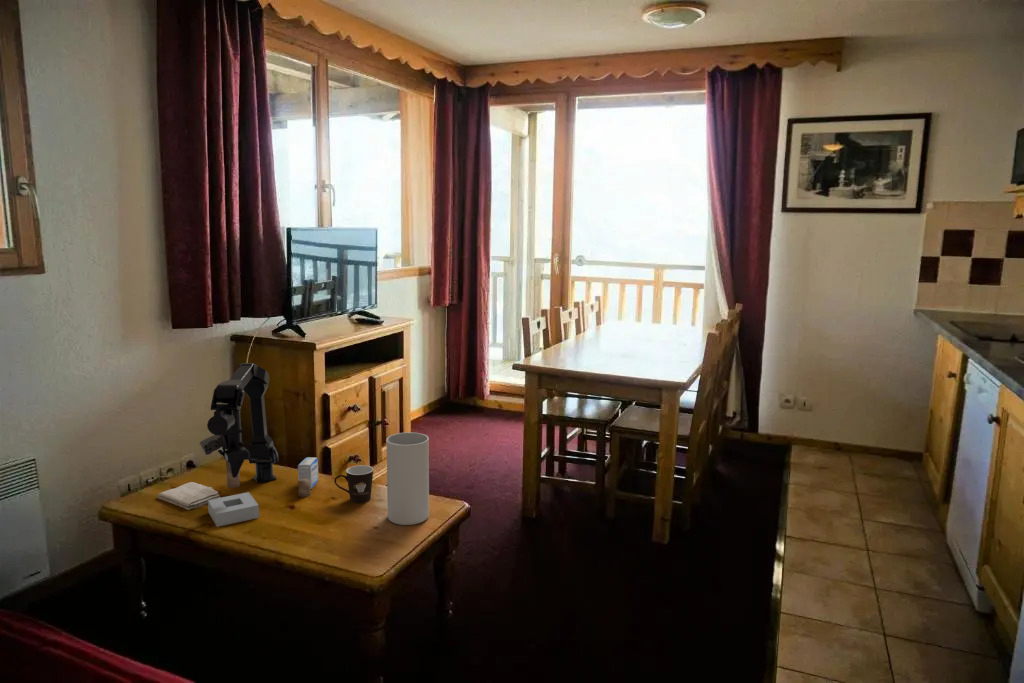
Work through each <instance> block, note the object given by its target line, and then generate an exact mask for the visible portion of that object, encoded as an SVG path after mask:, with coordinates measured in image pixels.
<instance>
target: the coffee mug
mask: <svg viewBox="0 0 1024 683" xmlns="http://www.w3.org/2000/svg"><path fill="white" fill-rule="evenodd" d="M345 473H346V475H345V474H338V475H337V476H336V477H335V478H334V485H335V486H336V487H338V489H341V490H343V491H344V492H346V493H348V494H349V499H350V502H351V503H354V504H365V503H368V502H370V501H371V498H372V497H371V496H372V488H373V487H372V486H373V477H374V476H373V475H374V468H373V467H372V466H370V465H363V464H362V465H361V464H360V465H354V466H350V467H348V468H347V469H346V471H345ZM339 478H344V479H345V481H346V482H347V485H348V486H347V487H348V489H347V488H345V487H342V486H340V485H339V484H338V483H337V480H338V479H339Z"/></svg>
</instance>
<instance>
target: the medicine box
mask: <svg viewBox="0 0 1024 683" xmlns="http://www.w3.org/2000/svg"><path fill="white" fill-rule="evenodd" d="M297 472H298V475H297V477H298V481H299V480H301V479H309V480H310V490H312V489H313V488H314V486H316V484H317V483H318V482H319V459H318V457H315V456H314V457H310V456H308V457H305V458H304V459H303V460H302V461H301V462H300V463H299V464H298V465H297Z"/></svg>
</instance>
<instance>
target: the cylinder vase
mask: <svg viewBox="0 0 1024 683" xmlns="http://www.w3.org/2000/svg"><path fill="white" fill-rule="evenodd" d="M429 440H430V439H429V436H428V435H426V434H424V433H420V432H399V433H394V434H391V435H388V437H387V438H386V486H387V487H386V490H387V491H386V492H387V493H386V494H387V496H386V498H387V500H386V502H387V509H386V510H387V519H388V520H389V522H391V523H393V524H396V525H398V526H411V525H412V526H413V525H417V524H421V523H423V522H425V521H426V520H427V519H428V518H429V516H430V479H429V478H430V470H429V469H430V462H429V460H430V457H429V456H430V455H429V454H430V453H429V450H430V447H429V446H430V445H429V444H430V443H429Z"/></svg>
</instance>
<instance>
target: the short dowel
mask: <svg viewBox="0 0 1024 683" xmlns="http://www.w3.org/2000/svg"><path fill="white" fill-rule="evenodd" d="M298 497H299V498H308V497H311V489H310V480H309V479H301V480H299V479H298Z"/></svg>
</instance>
